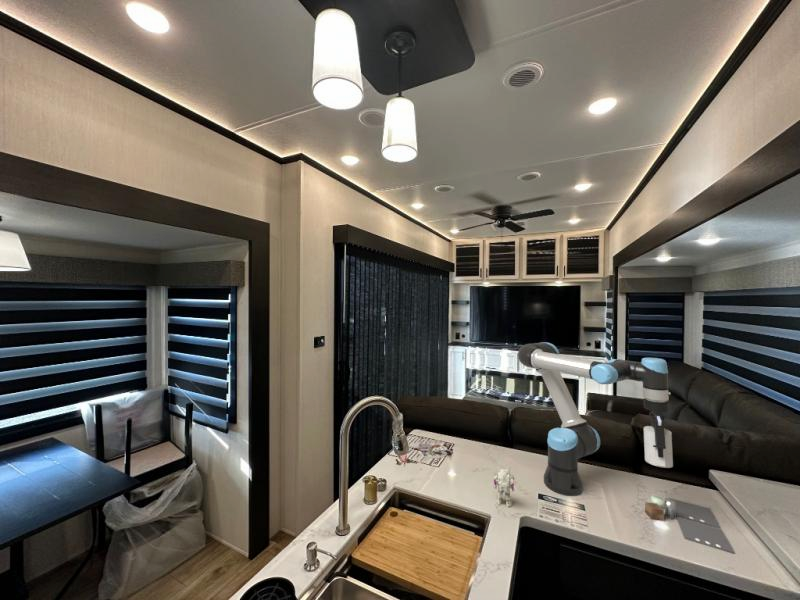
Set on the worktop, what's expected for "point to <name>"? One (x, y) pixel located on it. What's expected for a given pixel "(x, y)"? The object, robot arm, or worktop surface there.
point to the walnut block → (654, 511)
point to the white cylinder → (650, 450)
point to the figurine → (503, 485)
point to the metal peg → (669, 508)
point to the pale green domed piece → (657, 501)
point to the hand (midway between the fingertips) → (658, 460)
